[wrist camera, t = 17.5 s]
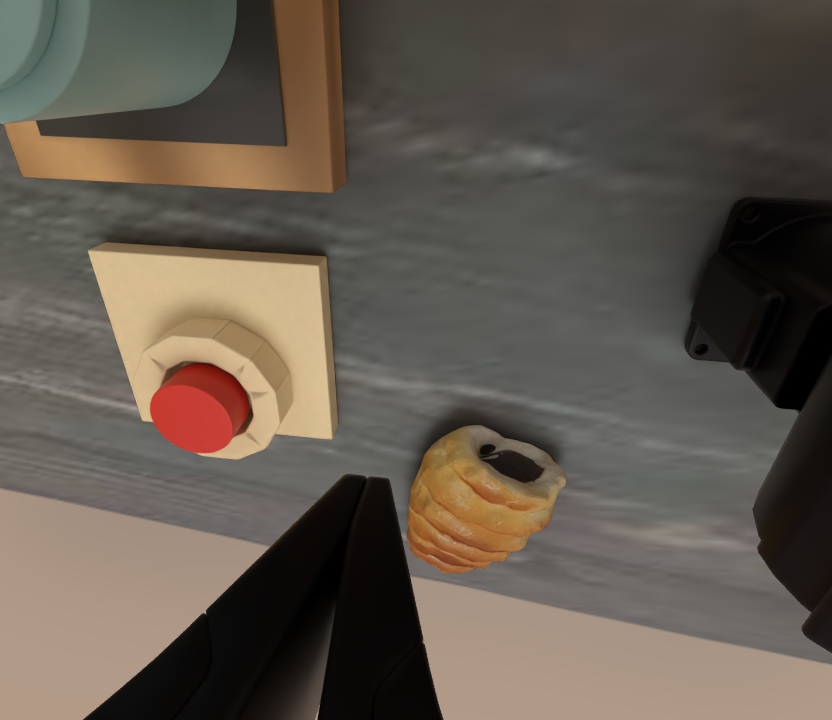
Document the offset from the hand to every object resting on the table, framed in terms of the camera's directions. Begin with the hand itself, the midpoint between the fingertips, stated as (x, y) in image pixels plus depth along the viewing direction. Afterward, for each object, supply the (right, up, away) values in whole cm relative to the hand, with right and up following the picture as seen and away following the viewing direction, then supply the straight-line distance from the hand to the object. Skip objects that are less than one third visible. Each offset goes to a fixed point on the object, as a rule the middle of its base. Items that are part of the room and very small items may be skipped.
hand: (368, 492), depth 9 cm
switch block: (-8, +3, +14) cm, 17 cm away
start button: (-8, +1, +13) cm, 15 cm away
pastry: (+4, -4, +17) cm, 18 cm away
